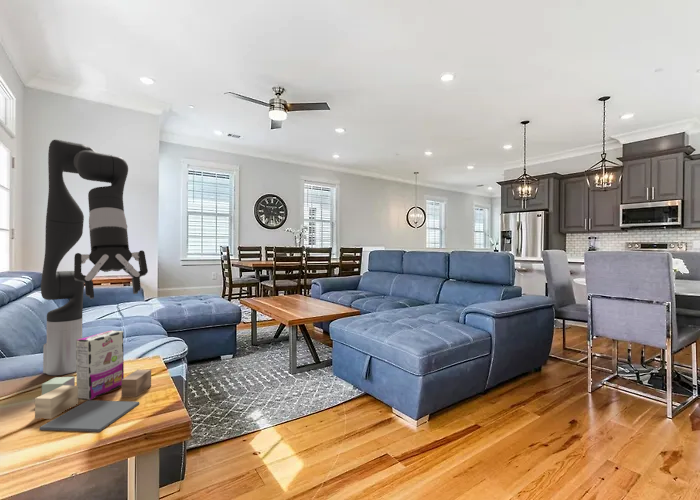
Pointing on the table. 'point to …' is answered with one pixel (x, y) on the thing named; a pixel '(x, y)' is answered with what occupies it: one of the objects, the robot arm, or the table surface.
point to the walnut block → (136, 383)
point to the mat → (90, 416)
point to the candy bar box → (99, 364)
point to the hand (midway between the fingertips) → (114, 295)
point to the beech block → (56, 401)
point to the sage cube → (57, 383)
